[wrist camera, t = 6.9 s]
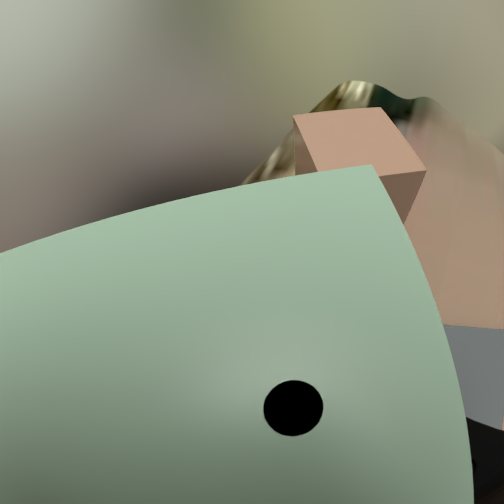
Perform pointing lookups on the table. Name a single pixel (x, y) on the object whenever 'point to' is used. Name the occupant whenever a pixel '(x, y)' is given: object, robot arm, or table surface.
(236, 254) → the stepped green tower
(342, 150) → the pink stepped block
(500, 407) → the mat
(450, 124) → the table surface
